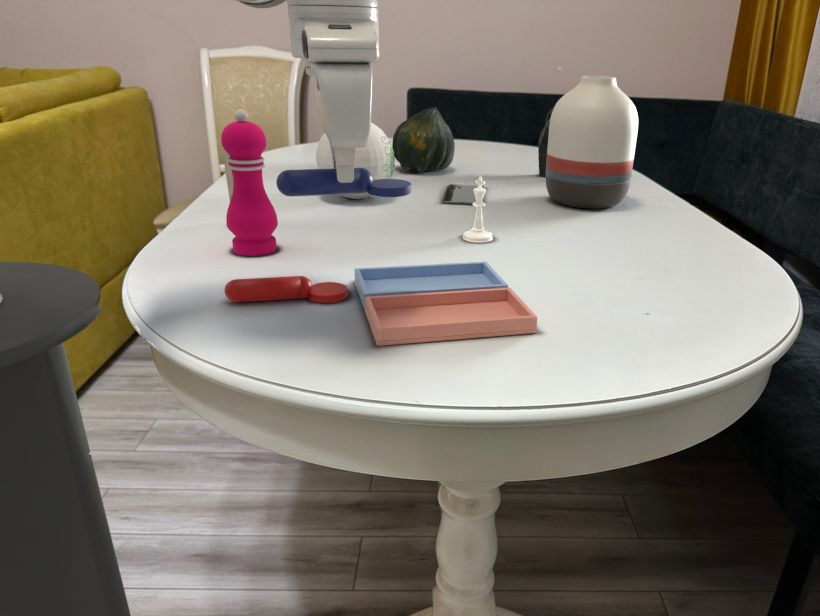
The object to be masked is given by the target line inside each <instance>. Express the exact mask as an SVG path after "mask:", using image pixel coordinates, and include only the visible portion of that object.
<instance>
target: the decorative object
mask: <svg viewBox="0 0 820 616" xmlns="http://www.w3.org/2000/svg"><path fill="white" fill-rule="evenodd" d="M395 160H396V158H395V156H394V151H393V148H392V142H391V140H390V139H389V137H388V135H386V133H385V132H384V131H383V129H382V128H380V127H379V126H378V125H376V124H375V123H373V122H371V129H370V136H369V142H368V145H367V146H366V147H359V148H355V158H354V168H364V169H366V170H368V171H369V172H370V173H371V175H372V178H373V180H378V179H392V176H393V173H394V170H395V169H394V168H395V162H396V161H395ZM315 161H316V167H317V169H333V163H332V154H331V148H330V142H329V139H328V137H327V136H326V134H325V132H323V134H322V135H321V137H320V139H319V141H318V143H317V147H316V153H315ZM340 196H341V197H343V198H347V199H350V200H351V199H353V200H361V199H368V198H370V197H374V196H373V195H370V194H368V193H367V192H366V193H363V194H341V195H340Z"/></svg>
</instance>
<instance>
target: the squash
mask: <svg viewBox="0 0 820 616" xmlns="http://www.w3.org/2000/svg"><path fill="white" fill-rule="evenodd" d="M391 144H392V148H393V151H394V158H395V160H396V161H397V162H398V163H399V165H400V167H401V168H402V169H403V170H404V171H406V172H408V173H415V172H418V173H424V172H426V171H427V170H429V171H435V172H437V171H442V170H445V169H447V168H448V167H449V166H450V165H451V164H452V163H453V160H454V156H455V149H456V148H455V139H454V136H453V133H452V130H451V128H450V126H449V125H448V124H447V123H446V121H445V120H444V118H443V116H442V115H441V112H440V111H439V110H438V108H437V107H428V108H425V109H422V110H421V111H419V112H417V113H415V114H414V115H412V116H410V117H409V118H407V119H406V120H404V121H402V122H401V123H400V124H399V125H398V126H397V127H396V129H395V131H394V134H393V136H392V142H391Z"/></svg>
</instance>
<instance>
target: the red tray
mask: <svg viewBox="0 0 820 616" xmlns="http://www.w3.org/2000/svg"><path fill="white" fill-rule="evenodd" d="M364 313H365V316H366V318H367V321H368V324H369V326H370V329H371V333H372V336H373V338H374V343H375V344H376V346H377V347H380V346H394V345H406V344H418V343H429V342H430V343H431V342H443V341H452V340H454V341H455V340H466V339H480V338H490V337H503V336H516V335H527V334H528V335H529V334H536V333H537V328H538V327H537V326H538V315H536V313H534V311H533V310H532V309H531V308H530V307H529V306H528V305H527V304H526V303H525V302H524V300H522V299H521V297H520V296H518V294H517V293H516V292H515V291H514V290H513V289H512V288H511V287H508V288H496V289H480V290H464V291H448V292H433V293H417V294H401V295H385V296H370V297H365V310H364Z"/></svg>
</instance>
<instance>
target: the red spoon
mask: <svg viewBox="0 0 820 616" xmlns="http://www.w3.org/2000/svg"><path fill="white" fill-rule="evenodd" d="M348 289H349V288H348V286H347V285H346V284H344V283H341V282H335V281H324V282H317V283H313V282H312V280H310V279H309V278H308V277H307V276H304V275H291V276H288V275H287V276H273V277H254V278H253V277H251V278H236V279H235V278H234V279H232V280H230V281H228V282H226V284H225V286H224V295H225V297H226V298H227V300H229V301H230V302H233V303H253V302H266V301H268V302H269V301H285V300H299V299H301V300H302V299H305V298H307V299H308V300H309V301H311V302H314V303H318V304H333V303H334V304H335V303H339V302H342V301H345V300H346V299H347V298H348V296H349V290H348Z"/></svg>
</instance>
